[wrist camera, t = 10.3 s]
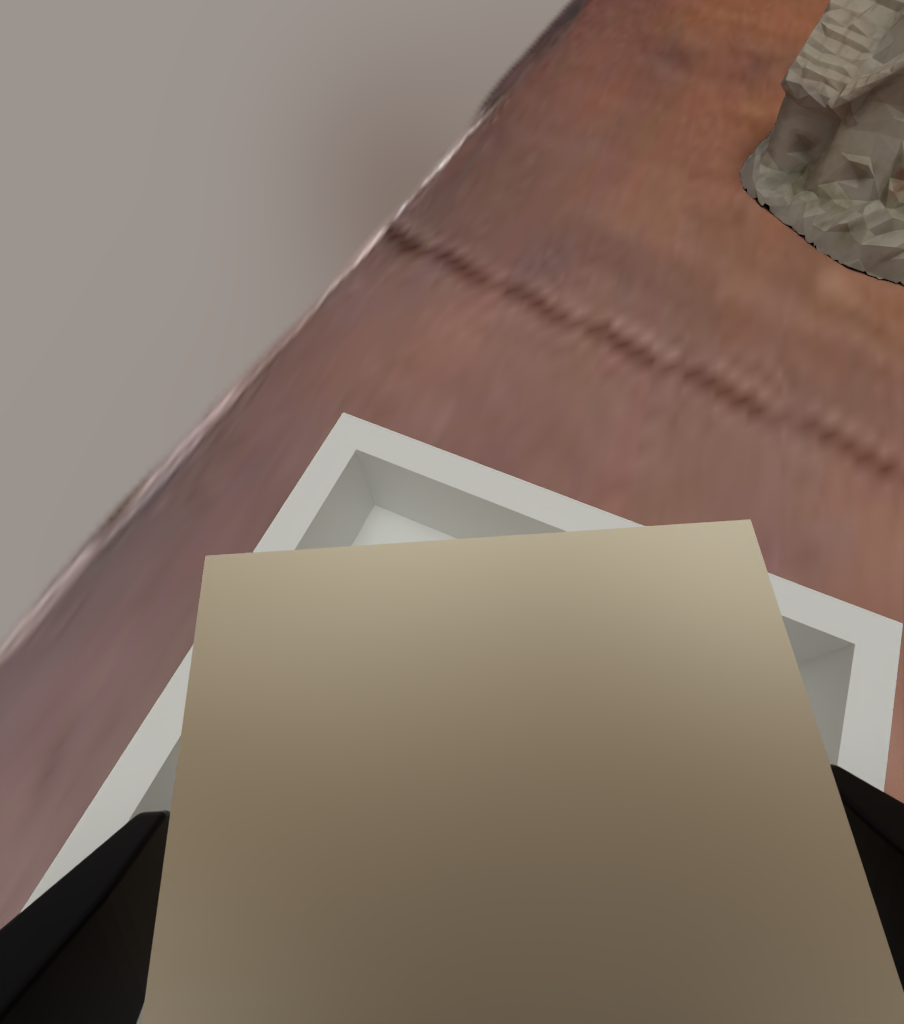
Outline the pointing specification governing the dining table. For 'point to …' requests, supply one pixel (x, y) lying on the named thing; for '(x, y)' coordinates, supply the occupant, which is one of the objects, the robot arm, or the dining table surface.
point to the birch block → (508, 794)
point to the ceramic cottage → (842, 140)
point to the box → (488, 513)
